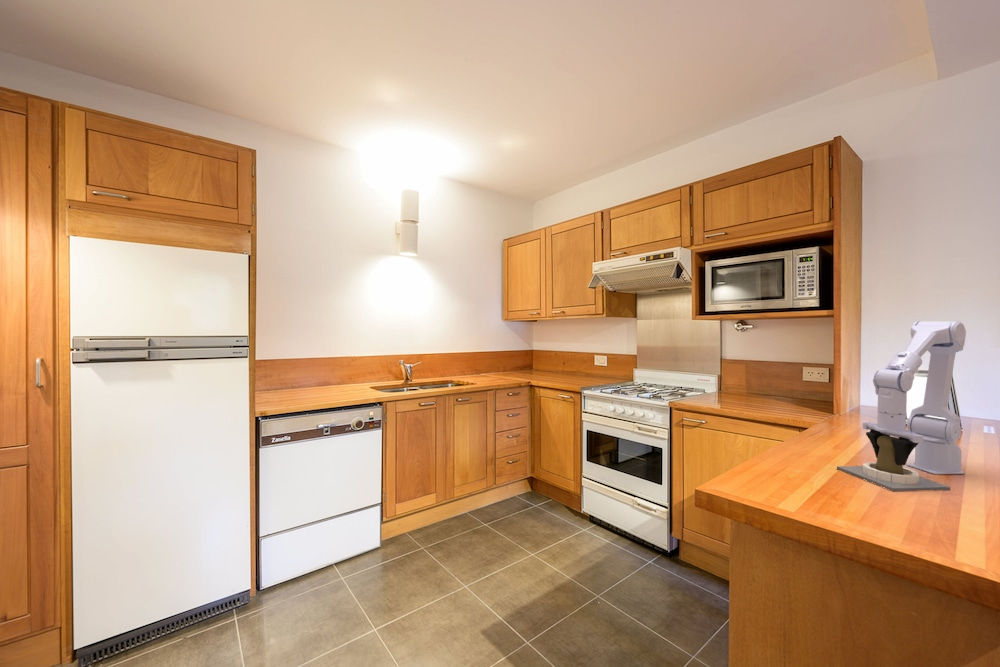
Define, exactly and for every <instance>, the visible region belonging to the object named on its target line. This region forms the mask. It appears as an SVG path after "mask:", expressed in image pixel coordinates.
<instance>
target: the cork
mask: <svg viewBox="0 0 1000 667" xmlns="http://www.w3.org/2000/svg"><path fill="white" fill-rule="evenodd" d="M891 439H899V438H898V437H895V436H891V435H890V436H880V437H879V438H878V439H877V444H878V446H879V447H880V448H879V453H878V458H876V462H877V463H876V467H875V469H876V470H879V471H883V472H888V473H893V474H900V475H904V473H903V467H904V465H896V462H895V450H894V446H893V443H892V441H891Z"/></svg>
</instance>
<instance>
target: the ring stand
mask: <svg viewBox="0 0 1000 667" xmlns="http://www.w3.org/2000/svg"><path fill="white" fill-rule="evenodd" d="M876 463H877V461H867V462H864V463H862V465H845V466H844V465H843V466H842V465H838V466H836V470H838V471H840V470H841V471H840V472H843V473H846V474H849V475H850V474H851V476H852V477H855V476H856V478H858V477H859V479H860V478H862V479H861V480H863V479H865V480H867V481H866V482H868V481H870V482H873V483H875V484H878V485H880V486H882V487H881V488H883V487H885V488H887V489H886V490H888V489H890V490H892V491H891V492H916V491H915V490H933V491H951V486H948V485H945V484H943V483H940V482H937V481H934V480H931V479H928V478H925V477H923V476H921V475H920V473H919V472H917V471H915V470H914V469H911V468H908V467H905V466H903V473H904V475H900V474H893V473H888V472H883V471H879V470H876V469H875V467H876ZM865 480H864V481H865ZM870 482H869V483H870ZM873 483H872V484H873ZM875 484H874V485H875ZM878 485H877V486H878ZM880 486H879V487H880ZM885 488H884V489H885ZM890 490H889V491H890Z"/></svg>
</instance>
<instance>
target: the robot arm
mask: <svg viewBox="0 0 1000 667" xmlns="http://www.w3.org/2000/svg"><path fill="white" fill-rule="evenodd" d="M966 335H967V331H966V328H965V325H964V323H963V322H962V321H960V320H955V321H954V320H953V321H951V320H950V321H948V320H947V321H946V320H945V321H944V320H943V321H941V320H940V321H939V320H938V321H937V320H936V321H934V320H933V321H931V320H929V321H928V320H927V321H925V320H923V321H922V320H916V321H915V322H914V323H912V325H911V327H910V337H911V339H910V341H909V343H908V344H907V346H906V348H905V350H904V351H899V352H897V353H896V354H895V355H894V357H893V358H891V360H890V361H889V363H888V364H887V365H886V366H885V368H882V369H879V370H876V372H875V373H874V375H873V378H872V383H873V386H874V390H875V392H874V393H875V395H877V414H876V415H877V418H876V419H877V422H876V423H874V422H870V421H863V422H862V429H863V430H869V431H866V432H865V435H866V437H867V438H868V439H869V442H870V444H871V445H872V448H873V451H874V454H875V458H876V459H877V458H878V453H879V448H880V447H879V446H878V444H877V439H878V438H879V437H880V436H892V437H896V438H899V439H891V441H892V443H893V446H894V450H895V462H896V465H902V466H909V467H911V468H914V469H916V470H921V471H922V472H923V471H924V472H926V473H930V474H933V475H957V474H958V475H960V474H963V475H964V474H965V473H966V472H965V471H962V453H963V452H962V450H961V447H960V445H959V444H958V443H956V442H957V441H959V439H960V438H961V435H962V426H961V418H960V416H959V415H957V414H956V413H955V412H953V411H952V410H951V409H950V408H949V400H950V393H951V386H952V381H953V380H952V378H953V373H954V372H953V371H954V367H955V366H954V365H955V358H956V353H959V352H962V351H963V350H964V347H965V342H966ZM927 351H928V353H929V354H930V357H929V362H928V363H929V364H928V370H927V376H926V385H925V390H924V391H925V392H924V397H923V404H922V405H921V406H918V407H916V408H912V410H911V412H910V415H909V417H908V419H907V402H908V401H907V399H908V398H907V397H908V396H907V395H908V392H909V391H910V390H911V389H912V387H913V382H914V380H915V375H916V372H917V371H918V370H919V368H920V367H921V365H922V364H923V359H922V357H923V355H925V354H926V353H927ZM913 450H914V463H913V462H910V463H909V462H908V459H909V457H910V455H911V454H912V452H913ZM907 462H908V463H907Z"/></svg>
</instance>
